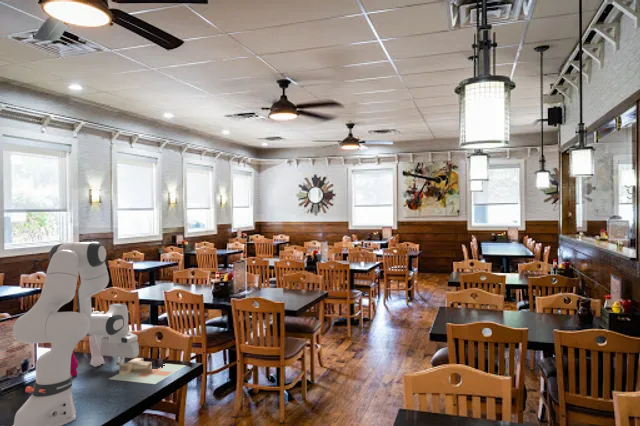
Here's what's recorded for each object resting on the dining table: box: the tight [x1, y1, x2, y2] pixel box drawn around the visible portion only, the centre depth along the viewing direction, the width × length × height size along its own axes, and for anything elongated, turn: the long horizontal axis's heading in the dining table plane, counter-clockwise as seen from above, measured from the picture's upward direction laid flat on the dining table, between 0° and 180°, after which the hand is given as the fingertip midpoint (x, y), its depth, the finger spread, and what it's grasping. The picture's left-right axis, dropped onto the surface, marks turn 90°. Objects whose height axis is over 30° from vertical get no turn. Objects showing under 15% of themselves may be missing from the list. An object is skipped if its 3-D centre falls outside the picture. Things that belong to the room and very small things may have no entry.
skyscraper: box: [88, 307, 106, 368], centre depth 224 cm, size 8×7×28 cm
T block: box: [118, 357, 153, 375], centre depth 213 cm, size 12×12×4 cm
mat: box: [108, 363, 187, 385], centre depth 211 cm, size 24×25×1 cm
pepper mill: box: [70, 347, 79, 378], centre depth 209 cm, size 7×7×20 cm
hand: (119, 365), depth 216 cm, fingers closed
